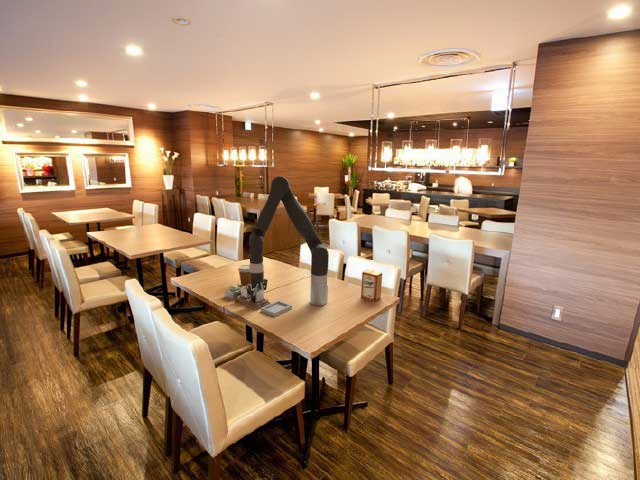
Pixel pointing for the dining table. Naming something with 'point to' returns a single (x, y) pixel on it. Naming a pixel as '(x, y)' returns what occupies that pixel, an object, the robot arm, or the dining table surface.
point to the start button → (234, 288)
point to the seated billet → (245, 293)
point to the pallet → (251, 304)
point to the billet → (259, 296)
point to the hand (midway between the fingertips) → (257, 299)
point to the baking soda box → (371, 284)
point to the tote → (276, 308)
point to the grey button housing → (232, 293)
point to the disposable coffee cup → (244, 275)
